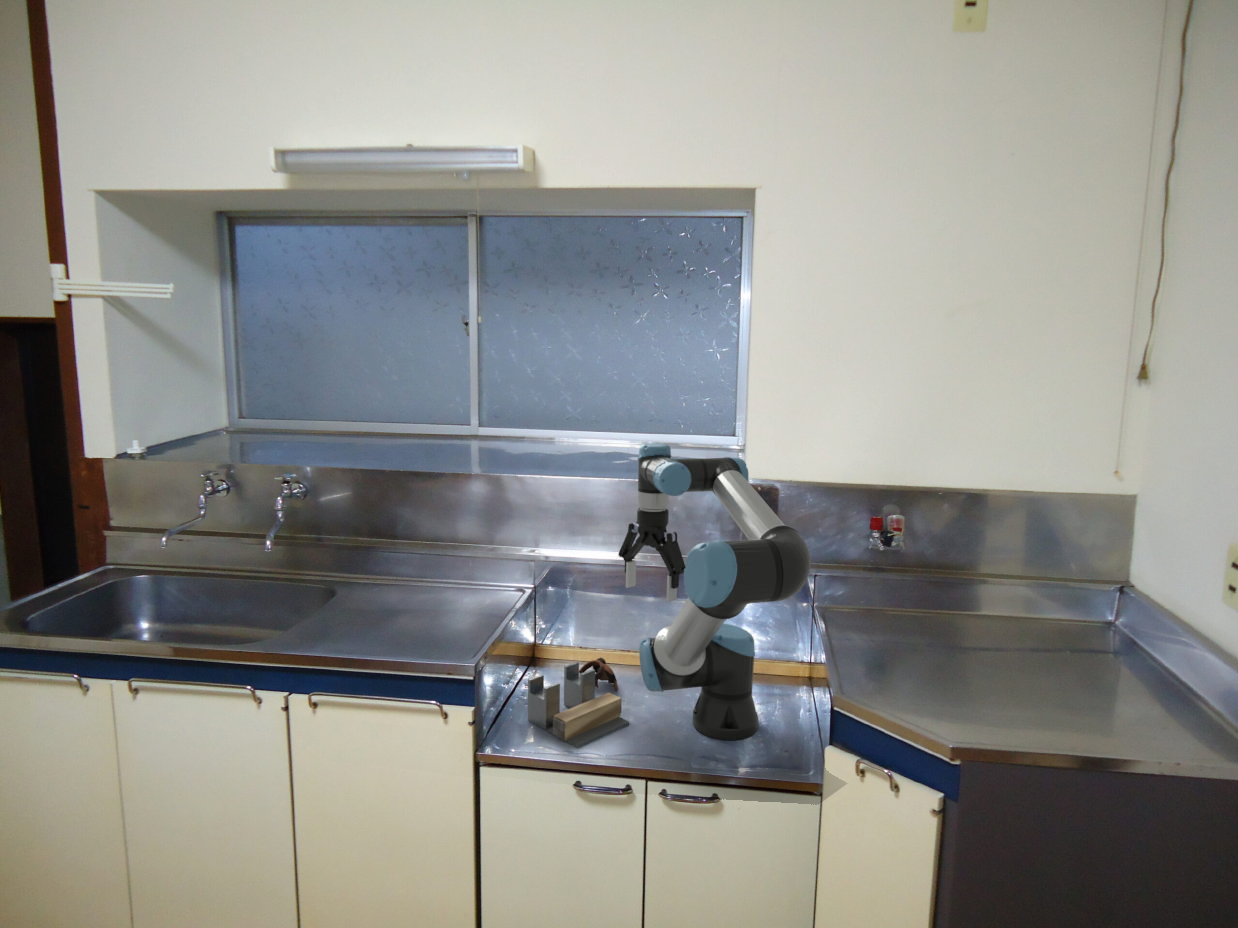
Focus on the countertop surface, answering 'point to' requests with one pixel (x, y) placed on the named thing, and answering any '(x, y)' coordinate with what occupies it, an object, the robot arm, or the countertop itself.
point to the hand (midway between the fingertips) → (650, 593)
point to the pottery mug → (601, 672)
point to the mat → (596, 732)
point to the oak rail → (586, 716)
